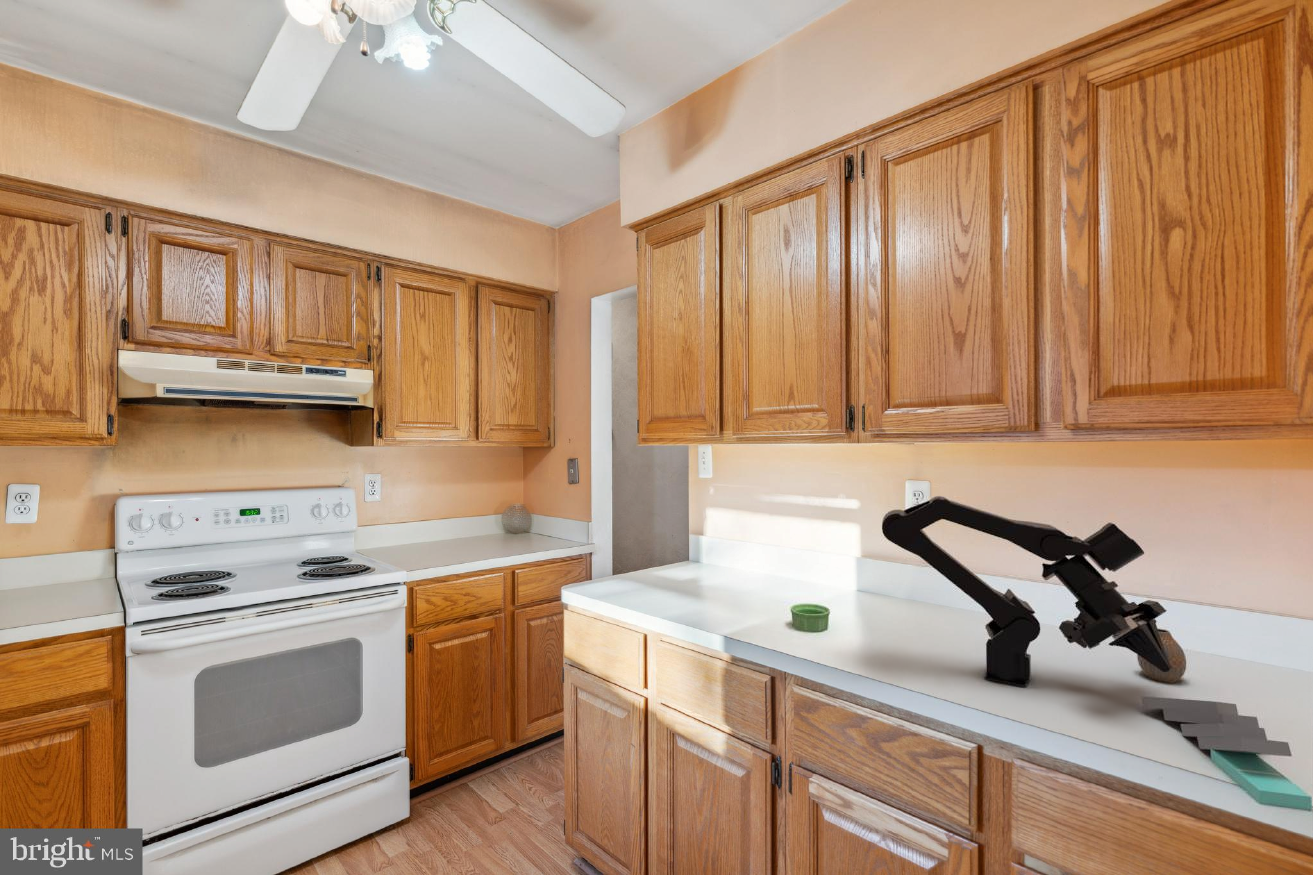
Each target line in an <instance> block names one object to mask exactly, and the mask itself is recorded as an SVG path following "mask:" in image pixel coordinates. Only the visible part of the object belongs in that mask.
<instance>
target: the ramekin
mask: <svg viewBox="0 0 1313 875" xmlns="http://www.w3.org/2000/svg"><path fill="white" fill-rule="evenodd" d="M790 613H791V621H792V626H793V628H794V629H796V630H798V631H800V632H801V631H802V632H807V633H821V632H824V631H827V630H828V628H829V620H830V619H829V618H830V614H831V610H830V608H829V607H827V606H825V605H821V604H816V603H797V604H794V605H792V606H791V607H790Z"/></svg>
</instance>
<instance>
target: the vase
mask: <svg viewBox="0 0 1313 875" xmlns="http://www.w3.org/2000/svg"><path fill="white" fill-rule="evenodd" d="M1157 629H1158V632H1159V635H1160V638H1161V641H1162V644H1163V646H1164V649H1165V651H1166V654H1167V657H1168V659H1169V662H1170V664H1171V667H1172V669H1171V670H1169V671H1167V672H1163V671H1161V670H1160V669H1158V668H1157V667H1155V666H1154V665H1152V664H1151V663H1149V662H1148V661H1146V660H1145V659H1143V658H1142V657H1140V656H1139V655H1137V654H1136V657H1137V658H1136V659H1137V662H1138V665H1139V667H1140V669H1141V670H1142V672H1143V673H1144V674H1145V675H1146V676H1147V677H1149V678H1150V679H1151V680H1156V681H1158V682H1163V683H1175V682H1177V681H1178V680H1180V679H1181V678H1183V676H1184V675H1185V672H1186V669H1187V657H1186V654H1185V652H1184V649H1183V648H1182V646H1181V645H1180V644H1179V642H1178V641H1177V640H1176V639H1175V638H1174V637H1173V636H1172V634H1171V631H1169V630H1168V629H1167V630H1166V629H1162V628H1158V627H1157Z"/></svg>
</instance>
